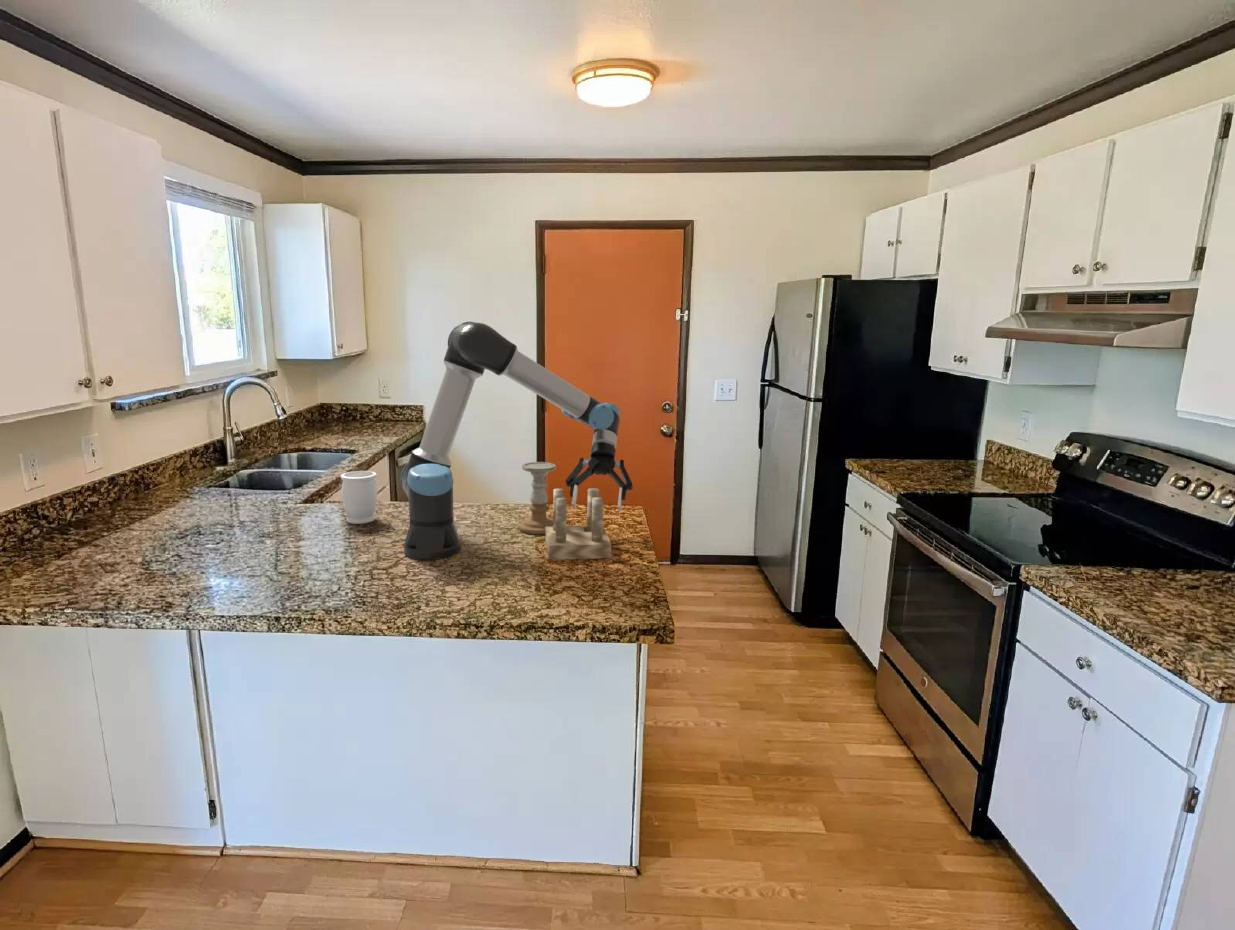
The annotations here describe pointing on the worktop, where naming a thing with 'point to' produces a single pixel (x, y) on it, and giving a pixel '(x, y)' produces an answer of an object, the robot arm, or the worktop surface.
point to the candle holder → (537, 498)
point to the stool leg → (591, 494)
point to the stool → (576, 533)
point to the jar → (359, 496)
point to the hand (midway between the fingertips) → (596, 507)
